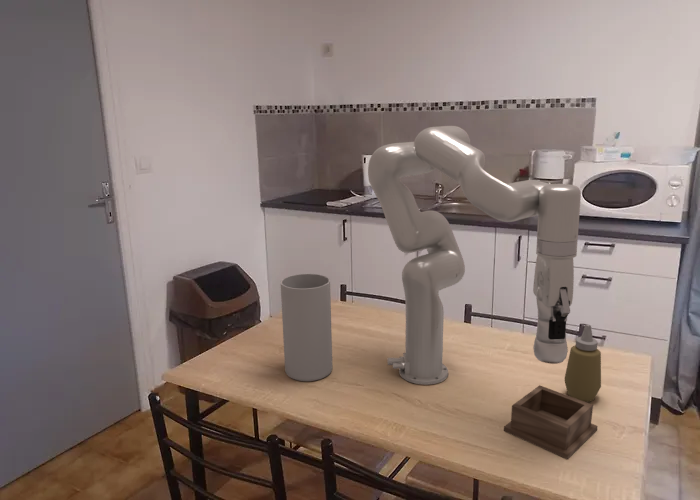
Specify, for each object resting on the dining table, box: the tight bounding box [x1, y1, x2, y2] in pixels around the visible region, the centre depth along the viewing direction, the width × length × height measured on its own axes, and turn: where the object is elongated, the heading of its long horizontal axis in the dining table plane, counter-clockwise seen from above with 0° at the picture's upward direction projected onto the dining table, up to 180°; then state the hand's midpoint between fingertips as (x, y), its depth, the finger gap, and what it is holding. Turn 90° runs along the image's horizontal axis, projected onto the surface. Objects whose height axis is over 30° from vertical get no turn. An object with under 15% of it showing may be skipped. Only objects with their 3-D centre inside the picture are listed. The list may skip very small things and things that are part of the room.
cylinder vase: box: [280, 273, 333, 382], centre depth 142 cm, size 12×12×25 cm
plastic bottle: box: [532, 286, 569, 365], centre depth 112 cm, size 6×7×20 cm
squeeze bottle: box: [564, 324, 602, 403], centre depth 128 cm, size 8×8×18 cm
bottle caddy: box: [503, 384, 598, 460], centre depth 116 cm, size 14×14×6 cm
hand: (551, 332), depth 113 cm, fingers closed on plastic bottle, 5 cm apart
